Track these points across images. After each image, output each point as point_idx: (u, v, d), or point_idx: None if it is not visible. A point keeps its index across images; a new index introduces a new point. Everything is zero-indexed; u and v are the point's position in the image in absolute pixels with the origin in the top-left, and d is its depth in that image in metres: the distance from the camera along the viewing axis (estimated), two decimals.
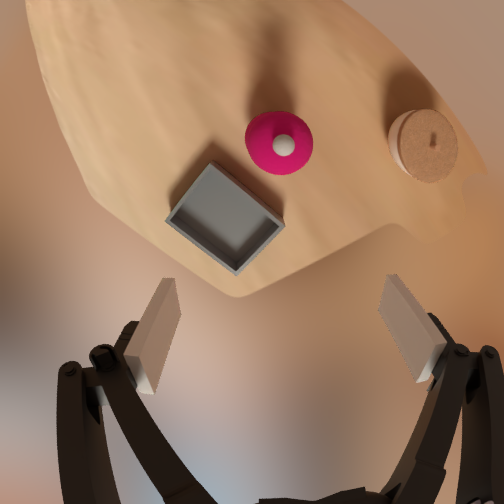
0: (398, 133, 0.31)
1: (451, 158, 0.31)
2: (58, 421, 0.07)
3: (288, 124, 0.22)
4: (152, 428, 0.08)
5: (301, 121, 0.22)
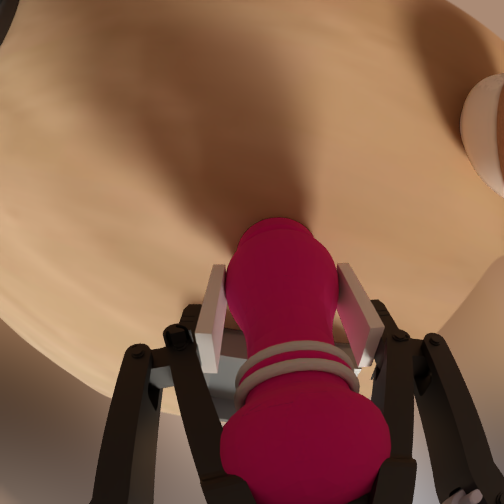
0: (499, 151, 0.11)
1: None
2: (113, 401, 0.08)
3: (302, 498, 0.05)
4: (210, 411, 0.08)
5: (341, 454, 0.05)
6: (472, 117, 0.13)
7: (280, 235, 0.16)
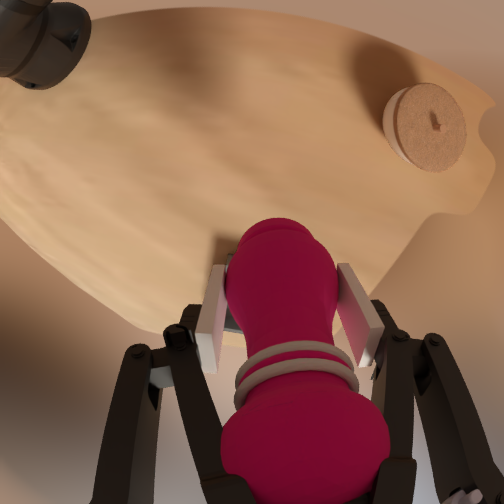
0: (395, 135, 0.26)
1: (460, 126, 0.24)
2: (113, 401, 0.08)
3: (302, 498, 0.05)
4: (210, 411, 0.08)
5: (340, 453, 0.05)
6: (384, 117, 0.28)
7: (279, 236, 0.16)
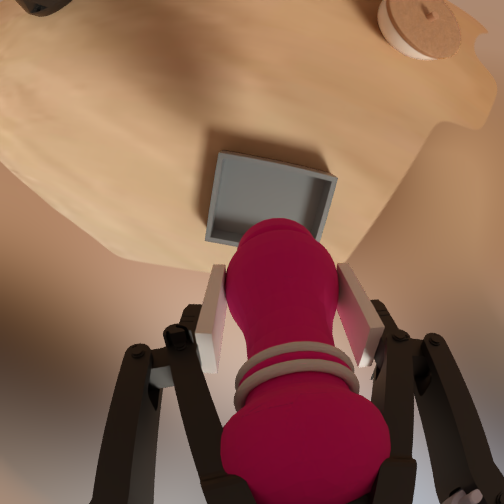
0: (390, 19, 0.20)
1: (453, 22, 0.18)
2: (113, 401, 0.08)
3: (302, 499, 0.05)
4: (210, 411, 0.08)
5: (340, 454, 0.05)
6: (378, 13, 0.22)
7: (280, 236, 0.16)
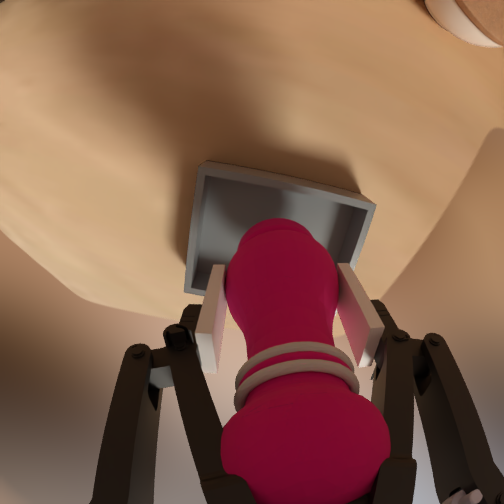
0: None
1: None
2: (113, 401, 0.08)
3: (302, 499, 0.05)
4: (210, 411, 0.08)
5: (340, 455, 0.05)
6: None
7: (279, 236, 0.16)
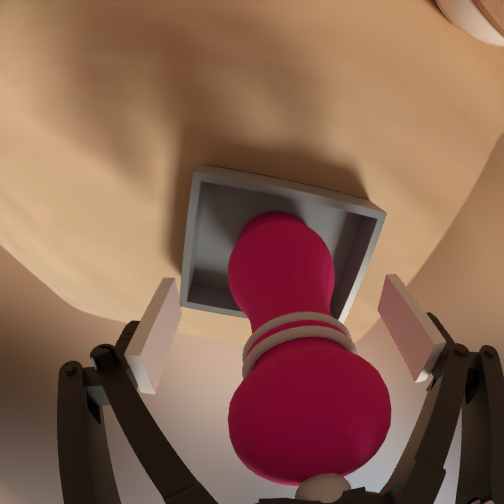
0: None
1: None
2: (59, 421, 0.07)
3: (314, 449, 0.06)
4: (152, 428, 0.08)
5: (346, 402, 0.07)
6: None
7: (279, 225, 0.17)
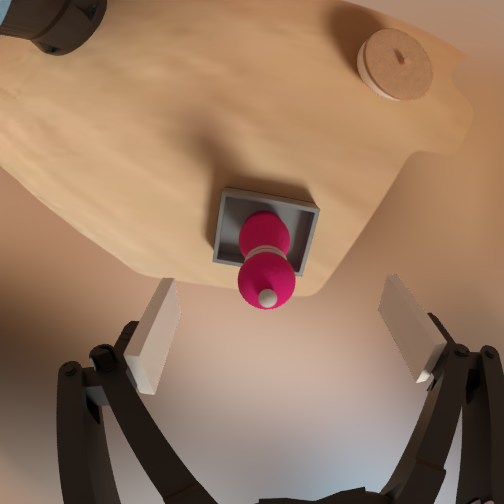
0: (366, 68, 0.28)
1: (426, 63, 0.26)
2: (58, 421, 0.07)
3: (262, 275, 0.27)
4: (152, 428, 0.07)
5: (271, 262, 0.27)
6: (357, 60, 0.30)
7: (262, 216, 0.38)
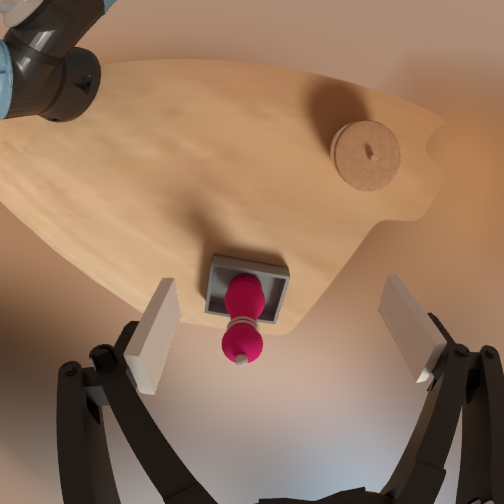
0: (335, 164, 0.38)
1: (394, 152, 0.36)
2: (58, 421, 0.07)
3: (237, 345, 0.37)
4: (152, 428, 0.07)
5: (244, 336, 0.38)
6: (330, 149, 0.40)
7: (242, 284, 0.48)
